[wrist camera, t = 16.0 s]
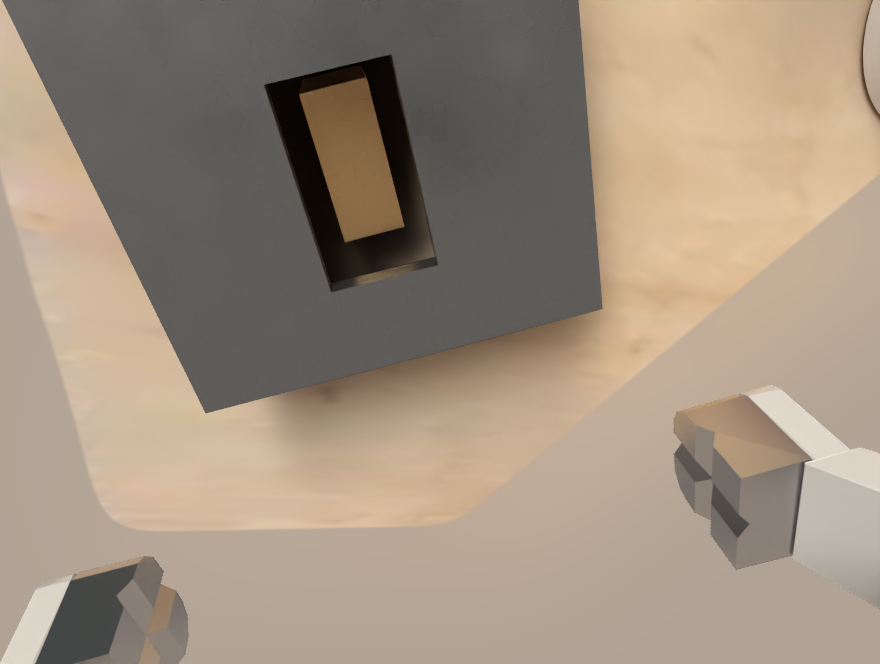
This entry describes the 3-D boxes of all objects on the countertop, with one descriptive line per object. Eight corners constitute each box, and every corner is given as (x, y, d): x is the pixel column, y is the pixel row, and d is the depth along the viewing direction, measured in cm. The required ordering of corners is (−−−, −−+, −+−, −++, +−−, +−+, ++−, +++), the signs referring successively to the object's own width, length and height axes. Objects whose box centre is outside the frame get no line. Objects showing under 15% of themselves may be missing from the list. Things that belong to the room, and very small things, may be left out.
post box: (508, -103, 29) (568, -132, 22) (551, 250, 38) (602, 309, 31) (79, -5, 28) (1, -2, 21) (227, 334, 37) (205, 413, 30)
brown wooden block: (360, 64, 31) (366, 77, 27) (394, 197, 35) (404, 226, 31) (302, 79, 31) (298, 94, 27) (341, 210, 35) (344, 242, 31)
